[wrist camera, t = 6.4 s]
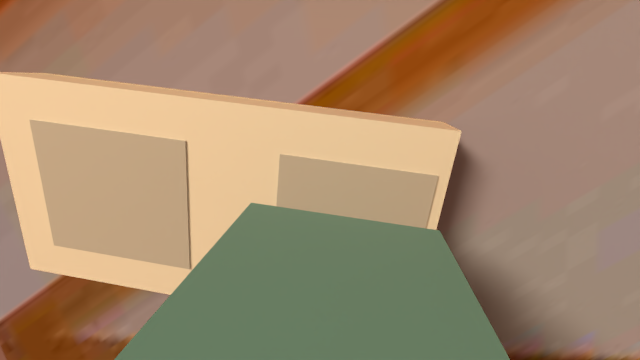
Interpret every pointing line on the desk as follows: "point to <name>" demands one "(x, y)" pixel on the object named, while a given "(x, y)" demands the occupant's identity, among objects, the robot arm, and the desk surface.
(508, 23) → the desk surface
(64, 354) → the desk surface
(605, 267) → the desk surface
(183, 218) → the board
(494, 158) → the desk surface
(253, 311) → the cube
